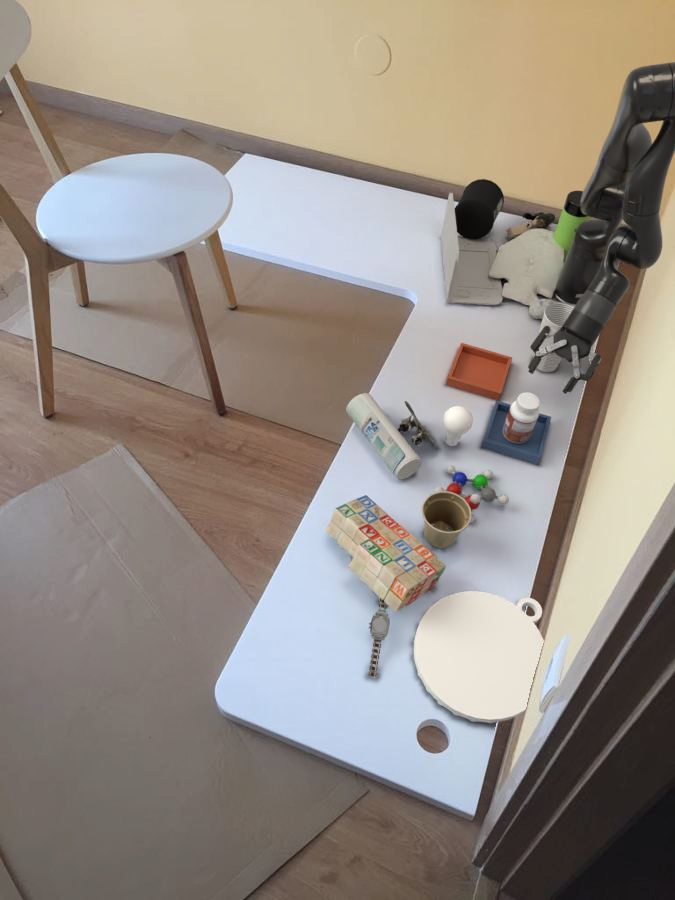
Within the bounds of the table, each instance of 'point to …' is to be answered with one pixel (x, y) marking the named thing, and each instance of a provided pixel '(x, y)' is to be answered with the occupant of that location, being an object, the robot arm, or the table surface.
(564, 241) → the tumbler
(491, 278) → the game console
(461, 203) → the container
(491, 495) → the molecule model
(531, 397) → the pill bottle
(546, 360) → the cup
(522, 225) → the toy figure
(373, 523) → the stack of blocks
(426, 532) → the flower pot
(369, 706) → the table surface
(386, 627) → the wristwatch
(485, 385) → the red tray
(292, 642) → the table surface
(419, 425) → the decorative picture frame
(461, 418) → the lightbulb
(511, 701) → the medallion
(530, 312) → the decorative stone
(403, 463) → the spray can
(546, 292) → the grey flat irregular slab
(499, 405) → the blue tray
